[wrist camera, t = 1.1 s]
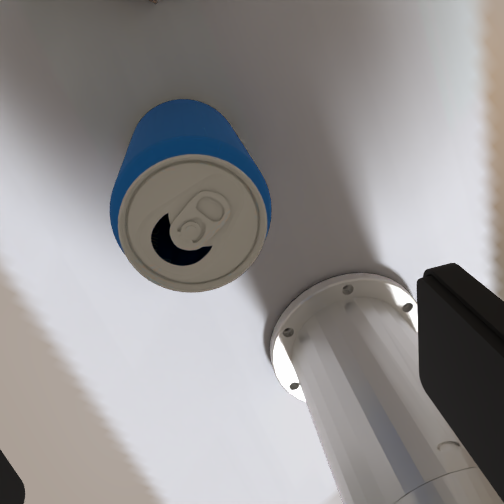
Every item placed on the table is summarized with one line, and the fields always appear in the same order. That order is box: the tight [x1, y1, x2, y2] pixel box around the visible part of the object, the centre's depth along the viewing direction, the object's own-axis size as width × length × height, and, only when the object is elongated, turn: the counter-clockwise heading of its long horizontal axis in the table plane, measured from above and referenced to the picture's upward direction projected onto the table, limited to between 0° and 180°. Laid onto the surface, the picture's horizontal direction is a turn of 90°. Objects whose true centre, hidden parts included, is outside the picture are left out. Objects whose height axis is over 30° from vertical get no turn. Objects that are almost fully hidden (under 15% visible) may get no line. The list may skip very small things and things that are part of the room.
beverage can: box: [110, 99, 271, 292], centre depth 22 cm, size 6×6×12 cm
